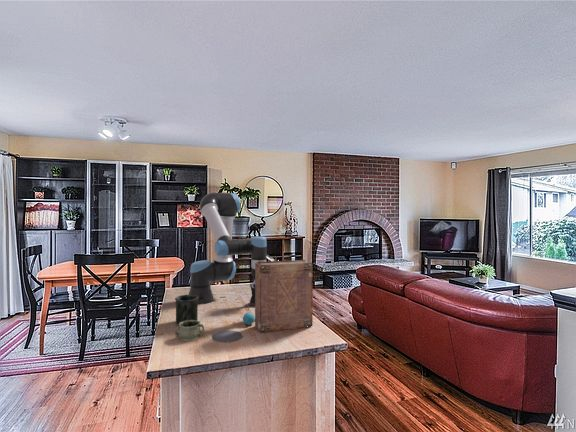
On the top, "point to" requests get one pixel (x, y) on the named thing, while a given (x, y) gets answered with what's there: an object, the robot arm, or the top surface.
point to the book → (283, 295)
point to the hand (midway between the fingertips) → (258, 315)
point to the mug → (186, 308)
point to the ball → (248, 318)
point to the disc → (227, 336)
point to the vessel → (189, 330)
